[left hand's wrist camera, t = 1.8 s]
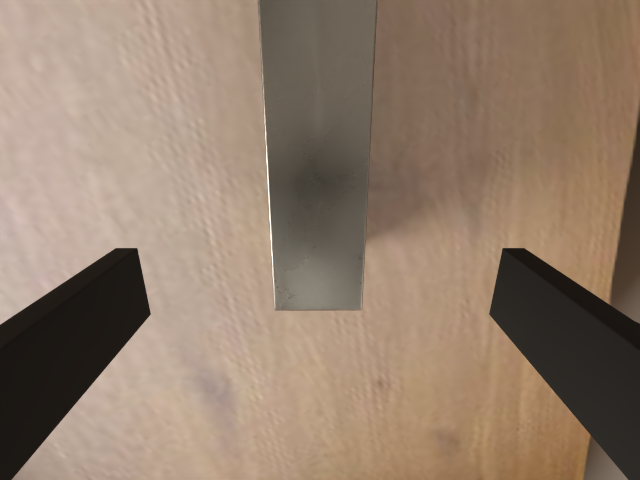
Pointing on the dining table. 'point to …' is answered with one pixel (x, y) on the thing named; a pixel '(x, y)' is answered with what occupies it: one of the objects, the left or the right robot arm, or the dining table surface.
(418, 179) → the dining table surface
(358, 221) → the bar
